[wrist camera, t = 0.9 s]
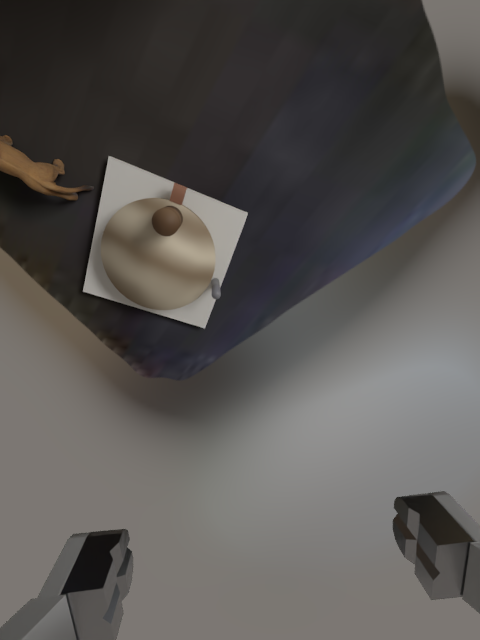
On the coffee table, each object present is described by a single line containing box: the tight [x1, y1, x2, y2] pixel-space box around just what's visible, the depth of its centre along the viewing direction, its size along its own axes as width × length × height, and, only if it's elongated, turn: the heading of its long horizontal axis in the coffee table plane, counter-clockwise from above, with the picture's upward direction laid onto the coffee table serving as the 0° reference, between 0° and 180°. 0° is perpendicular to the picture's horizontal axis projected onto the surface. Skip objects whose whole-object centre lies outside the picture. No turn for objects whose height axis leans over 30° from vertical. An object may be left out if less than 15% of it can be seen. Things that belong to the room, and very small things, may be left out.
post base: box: [83, 156, 248, 328], centre depth 40 cm, size 19×19×8 cm
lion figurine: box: [0, 135, 94, 200], centre depth 34 cm, size 15×5×9 cm, turn 71°
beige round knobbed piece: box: [101, 183, 215, 310], centre depth 37 cm, size 17×15×6 cm
